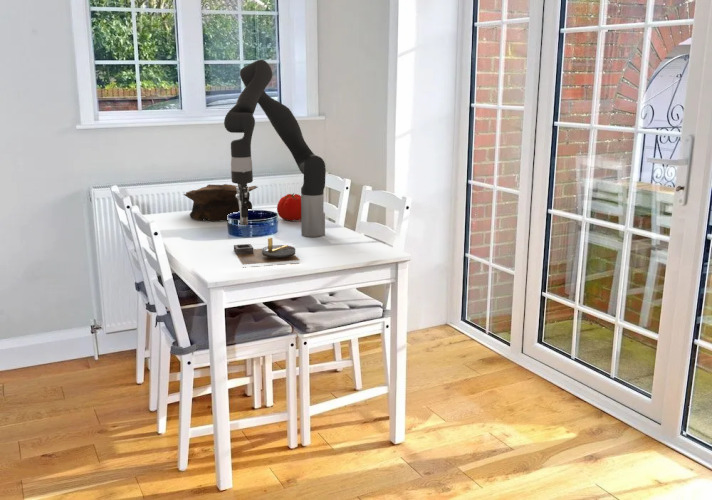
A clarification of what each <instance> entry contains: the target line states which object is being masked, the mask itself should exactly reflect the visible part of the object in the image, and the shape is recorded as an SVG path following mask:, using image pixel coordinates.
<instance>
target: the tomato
mask: <svg viewBox="0 0 712 500" xmlns="http://www.w3.org/2000/svg"><path fill="white" fill-rule="evenodd" d="M276 211H277V215H278V216H279V218H280V219H282V220H284V219H285V220H284V221H289V220H290V222H292V221H293V220H294V221H296V220H299V221H301V194H298V193H294V192H293V193H292V194H291V193H287V194H286V195H284V196H282V197H280V199H279V200H278V202H277V204H276Z"/></svg>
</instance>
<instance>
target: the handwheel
mask: <svg viewBox="0 0 712 500" xmlns="http://www.w3.org/2000/svg"><path fill="white" fill-rule="evenodd" d="M261 249H262V255H264V256H267V257H274V258H281V257H289V256H293V255H296V248H295V247H294V246H291V245H286V244H285V245H283V244H281V245H280V244H279V245H278V244H275V245H273V237H268V238H267V246H264V247H261Z"/></svg>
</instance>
